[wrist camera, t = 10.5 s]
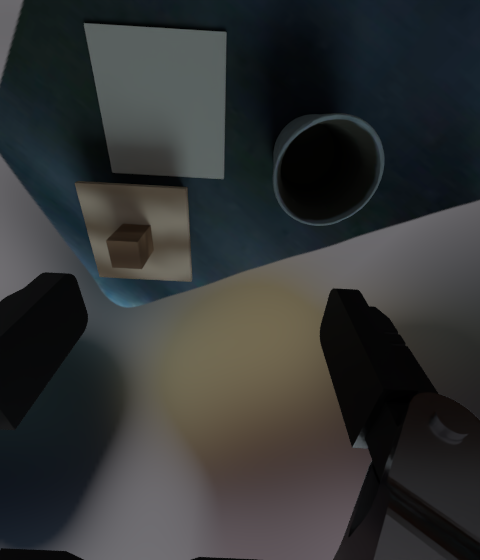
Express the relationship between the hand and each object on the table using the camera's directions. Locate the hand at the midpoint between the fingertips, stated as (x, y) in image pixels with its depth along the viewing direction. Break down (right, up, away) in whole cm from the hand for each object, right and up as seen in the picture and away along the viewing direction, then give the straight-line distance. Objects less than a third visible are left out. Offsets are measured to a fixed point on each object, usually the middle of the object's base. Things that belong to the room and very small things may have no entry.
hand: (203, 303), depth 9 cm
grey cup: (+10, +17, +27) cm, 34 cm away
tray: (-8, +21, +25) cm, 34 cm away
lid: (-12, +7, +28) cm, 31 cm away
